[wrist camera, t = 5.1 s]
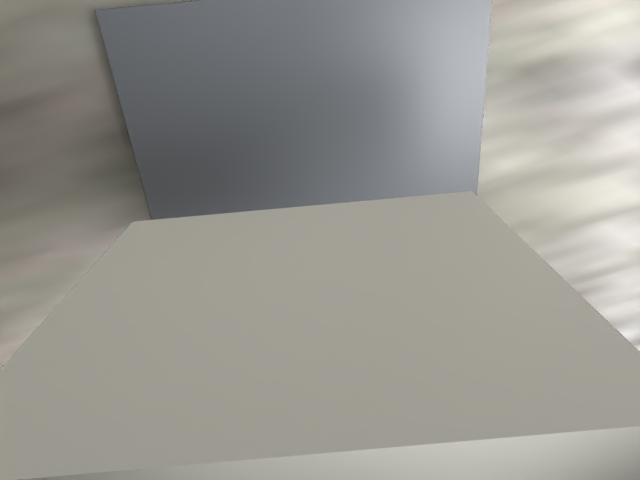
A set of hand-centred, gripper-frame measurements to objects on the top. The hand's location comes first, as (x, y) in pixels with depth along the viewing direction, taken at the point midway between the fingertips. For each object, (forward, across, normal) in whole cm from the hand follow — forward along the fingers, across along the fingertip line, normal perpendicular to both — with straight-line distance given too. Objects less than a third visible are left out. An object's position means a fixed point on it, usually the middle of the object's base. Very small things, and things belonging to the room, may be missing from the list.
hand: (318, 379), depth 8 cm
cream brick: (+1, 0, 0) cm, 1 cm away
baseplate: (+13, 0, 0) cm, 13 cm away
